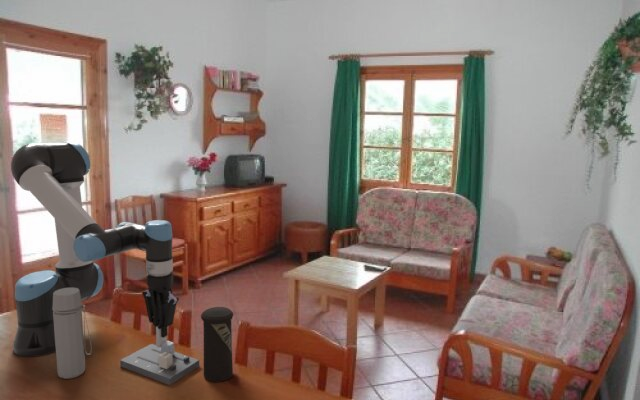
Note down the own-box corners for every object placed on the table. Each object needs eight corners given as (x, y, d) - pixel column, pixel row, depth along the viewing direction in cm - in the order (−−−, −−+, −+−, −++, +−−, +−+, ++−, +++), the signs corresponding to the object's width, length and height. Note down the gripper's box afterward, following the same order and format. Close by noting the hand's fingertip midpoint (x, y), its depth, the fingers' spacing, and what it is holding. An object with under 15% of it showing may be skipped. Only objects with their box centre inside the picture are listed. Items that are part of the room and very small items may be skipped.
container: (226, 385, 134) (226, 318, 131) (197, 380, 136) (195, 314, 133) (238, 369, 143) (237, 306, 139) (209, 365, 144) (209, 303, 141)
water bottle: (57, 383, 133) (50, 298, 128) (57, 369, 140) (51, 288, 135) (93, 375, 137) (88, 293, 133) (92, 363, 144) (87, 284, 139)
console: (120, 366, 143) (119, 356, 142) (151, 349, 153) (151, 340, 152) (169, 385, 133) (169, 374, 133) (199, 366, 144) (199, 356, 143)
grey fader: (161, 354, 146) (160, 343, 145) (167, 351, 148) (166, 340, 147) (168, 356, 144) (168, 345, 144) (174, 353, 146) (174, 342, 146)
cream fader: (159, 366, 139) (158, 355, 138) (165, 362, 141) (164, 351, 140) (166, 369, 137) (166, 357, 137) (172, 365, 139) (172, 354, 139)
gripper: (134, 271, 142) (136, 345, 146) (166, 280, 136) (167, 356, 141) (153, 265, 149) (155, 335, 153) (185, 273, 143) (186, 345, 147)
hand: (161, 345), depth 147 cm, fingers closed
